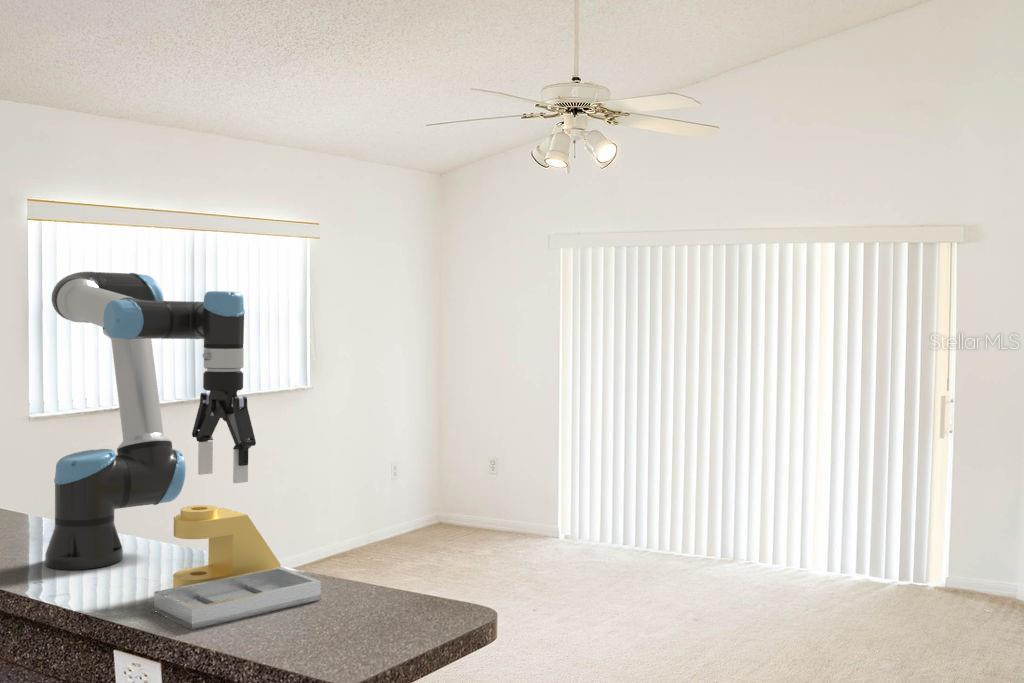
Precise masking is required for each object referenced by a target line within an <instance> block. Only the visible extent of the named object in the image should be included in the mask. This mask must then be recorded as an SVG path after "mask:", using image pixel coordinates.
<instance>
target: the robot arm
mask: <svg viewBox="0 0 1024 683" xmlns="http://www.w3.org/2000/svg"><path fill="white" fill-rule="evenodd" d="M51 303H52V307H53V309H54V311H55V312H56V313H57V314H58V315H59V316H60V317H62V318H63V319H65V320H68V321H70V322H74V323H85V324H86V323H87V324H93V325H96V326H99V327H101V328H102V333H103V334H104V335H105V336H106V337H107V338H109V339H110V340H111V341H110V342H111V349H112V357H113V364H114V373H115V374H114V375H115V381H116V382H115V383H116V392H117V398H118V400H117V401H118V408H119V416H120V424H121V425H120V426H121V433H122V442H121V443H120V444H119V445H118V447H117V448H116V453H117V454H116V453H115V451H114V450H113V449H109V448H100V449H99V448H98V449H88V450H82V451H77V452H74V453H70V454H67V455H65V456H63V457H61V458H60V459H59V460H58V461H57V462H56V465H55V473H54V475H55V476H54V479H53V482H54V529H53V530H52V534H51V537H50V540H49V543H48V546H47V548H46V552H45V556H44V557H45V561H44V562H45V563H44V564H45V566H46V567H48V568H50V569H56V570H64V571H65V570H69V571H70V570H71V571H72V570H73V571H74V570H75V571H76V570H89V569H97V568H102V567H107V566H110V565H111V566H112V565H113V564H117V563H119V562H121V561H122V560H123V552H124V551H123V546H122V543H121V539H120V536H119V534H118V532H117V528H116V525H115V510H116V509H117V510H118V509H125V508H133V507H141V506H149V505H151V506H157V505H160V504H164V503H171V502H173V501H174V500H175V499H177V497H178V496H179V495H180V494H181V492H182V489H183V488H184V487H183V486H184V484H185V478H186V471H187V470H186V461H185V458H184V456H183V453H182V452H181V451H180V450H177V449H176V448H175V449H174V448H173V442H172V440H171V439H170V438H169V437H167V436H165V434H164V428H163V420H162V413H161V405H160V399H159V398H160V396H159V395H160V394H159V388H158V381H157V380H158V379H157V374H156V366H155V358H154V350H153V343H152V342H153V341H152V339H163V340H165V339H167V340H170V339H171V340H172V339H173V340H174V339H175V340H177V339H178V340H179V339H180V340H186V339H187V340H203V353H202V358H203V368H204V369H206V370H205V371H204V372H203V373H202V374H203V376H202V378H203V381H202V384H203V385H202V386H203V387H202V388H203V389H204V390H205V391H209V392H201V393H200V397H199V406H198V409H197V412H196V415H195V421H194V424H193V427H192V432H191V437H192V438H196V442H198V455H197V456H198V457H197V459H198V460H197V461H198V464H197V466H198V467H197V468H198V469H197V475H199V476H201V475H210V474H211V475H212V474H213V464H214V463H213V462H214V460H213V459H214V458H213V456H214V454H213V451H214V446H213V444H214V442H213V440H214V438H213V434H214V432H215V430H216V428H217V425H218V423H219V421H220V420H221V419H222V421H224V422H226V424H227V428H228V430H229V432H230V435H231V438H232V440H233V442H234V446H233V448H232V449H233V450H232V453H233V454H232V456H233V460H232V462H233V463H232V466H233V467H232V468H233V470H232V473H233V474H232V483H233V484H240V483H243V484H244V483H248V482H249V449H250V448H251V447H254V446H256V443H257V442H256V438H255V437H256V436H255V434H254V429H253V426H252V420H251V417H250V412H249V408H248V397H247V396H245V395H243V396H238V391H242V390H243V389H244V372H243V371H242V370H241V369H243V368H244V366H245V365H244V361H245V360H244V357H245V356H244V355H245V354H244V353H245V352H244V350H245V349H244V336H245V335H244V333H245V312H246V311H245V308H244V306H245V305H244V303H245V302H244V296H243V294H242V293H241V292H239V291H224V290H223V291H222V290H221V291H216V290H214V291H212V290H211V291H210V290H209V291H207V292H205V294H204V297H203V301H198V300H197V301H184V300H183V301H180V300H175V301H174V300H165V299H164V295H163V292H162V289H161V287H160V285H159V283H158V282H157V280H155V279H154V278H153V277H152V276H150V275H148V274H139V273H136V272H129V273H122V272H121V273H120V272H103V271H102V272H101V271H100V272H99V271H96V272H95V271H79V272H76V273H75V272H74V273H71V274H69V275H67V276H65V277H63V278H62V279H60V280H59V281H58V282H57V283H56V284H55V286H54V288H53V289H52V292H51Z"/></svg>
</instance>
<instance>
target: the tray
mask: <svg viewBox="0 0 1024 683" xmlns="http://www.w3.org/2000/svg"><path fill="white" fill-rule="evenodd" d="M321 589H322V581H321V580H320V579H319V580H318V579H315V578H313V577H310V576H307V575H305V574H301V573H298V572H296V571H293V570H290V569H288V568H284V567H282V566H281V567H277V568H272V569H267V570H262V571H257V572H252V573H247V574H242V575H237V576H232V577H227V578H222V579H217V580H212V581H207V582H201V583H196V584H191V585H186V586H181V587H176V588H173V587H172V588H167V589H161V590H156V591H153V612H154V611H157V612H159V613H160V614H162V615H161V616H163V615H164V616H163V617H165V616H167V617H168V618H167V617H166V618H167V619H169V618H170V619H169V620H171V619H172V620H171V621H173V620H174V621H173V622H175V621H176V622H175V623H177V624H179V623H180V624H179V625H181V624H182V625H181V626H183V625H184V626H183V627H185V626H186V627H185V628H187V627H188V628H187V629H189V628H190V629H189V630H191V629H192V631H193V630H197V629H196V628H198V629H201V628H200V627H202V628H205V627H204V626H206V627H210V626H215V625H219V624H223V623H226V622H231V621H236V620H241V619H244V618H248V617H252V616H256V615H261V614H266V613H270V612H274V611H279V610H282V609H286V608H290V607H291V608H292V607H295V606H299V605H304V604H308V603H312V602H317V601H320V600H322V599H321V598H322V590H321ZM160 614H159V615H160ZM214 624H215V625H214Z"/></svg>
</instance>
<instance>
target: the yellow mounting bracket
mask: <svg viewBox="0 0 1024 683" xmlns="http://www.w3.org/2000/svg"><path fill="white" fill-rule="evenodd" d="M173 537H174V538H177V539H180V540H181V539H182V540H206V539H208V556H207V557H208V562H207V564H206V565H201V566H196V567H189V568H184V569H181V570H177V571H175V572H174V573H173V574H172V588H176V587H181V586H186V585H191V584H196V583H201V582H207V581H212V580H217V579H222V578H227V577H232V576H237V575H242V574H247V573H252V572H257V571H262V570H267V569H272V568H277V567H282V566H281V563H280V562H279V560H278V558H277V557H276V556H275V554H274V553H273V551H272V550H271V548H270V546H269V545H268V544H267V542H266V541H265V539H264V538H263V536H262V535H261V533H260V531H259V530H258V529H257V527H256V526H255V524H254V523H253V521H252V519H251V518H250V517H249V515H248V514H246V513H242V512H238V511H236V510H232V509H229V508H225V507H220V508H219V507H218V506H216V505H209V504H197V505H189V506H187V505H186V506H183V507H182V508H180V514H176V515H175V516H173Z"/></svg>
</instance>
